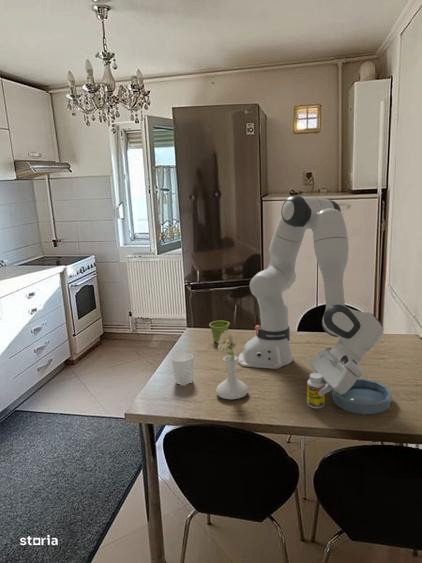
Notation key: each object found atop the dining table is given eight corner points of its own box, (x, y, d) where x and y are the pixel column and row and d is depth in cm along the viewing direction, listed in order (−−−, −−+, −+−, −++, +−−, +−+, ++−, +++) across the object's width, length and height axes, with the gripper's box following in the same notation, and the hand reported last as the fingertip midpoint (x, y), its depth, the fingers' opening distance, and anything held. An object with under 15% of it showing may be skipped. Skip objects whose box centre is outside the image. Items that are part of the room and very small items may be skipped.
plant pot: (223, 346, 198) (222, 328, 196) (206, 343, 203) (205, 325, 201) (234, 339, 206) (233, 322, 204) (217, 336, 211) (216, 319, 209)
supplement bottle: (306, 408, 138) (306, 378, 136) (307, 399, 143) (308, 370, 141) (324, 410, 137) (324, 380, 134) (325, 401, 142) (325, 372, 139)
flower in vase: (216, 387, 159) (212, 322, 153) (247, 386, 158) (244, 321, 153) (215, 405, 146) (211, 335, 140) (249, 404, 146) (246, 334, 140)
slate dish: (337, 414, 136) (337, 404, 136) (329, 387, 154) (329, 378, 153) (397, 414, 134) (398, 404, 133) (381, 387, 152) (382, 378, 151)
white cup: (185, 375, 171) (183, 351, 168) (198, 381, 165) (197, 356, 163) (169, 382, 165) (167, 357, 163) (183, 388, 160) (181, 363, 157)
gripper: (322, 340, 147) (295, 370, 148) (352, 364, 127) (321, 399, 128) (334, 350, 149) (307, 380, 149) (366, 376, 129) (334, 410, 130)
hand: (314, 389), depth 139 cm, fingers closed on supplement bottle, 5 cm apart
